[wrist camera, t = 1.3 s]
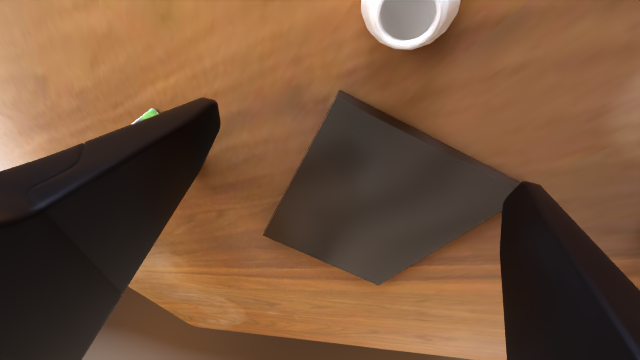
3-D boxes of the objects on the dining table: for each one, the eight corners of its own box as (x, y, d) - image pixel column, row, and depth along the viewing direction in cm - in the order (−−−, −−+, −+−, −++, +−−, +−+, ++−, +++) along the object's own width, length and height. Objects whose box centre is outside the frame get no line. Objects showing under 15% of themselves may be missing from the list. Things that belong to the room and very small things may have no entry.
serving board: (525, 185, 24) (528, 195, 23) (379, 278, 40) (378, 285, 39) (339, 89, 22) (336, 97, 21) (265, 228, 38) (262, 235, 37)
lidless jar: (401, 60, 19) (481, -3, 16) (398, 84, 17) (487, 18, 14) (344, -4, 17) (420, -90, 14) (333, 15, 15) (418, -80, 12)
